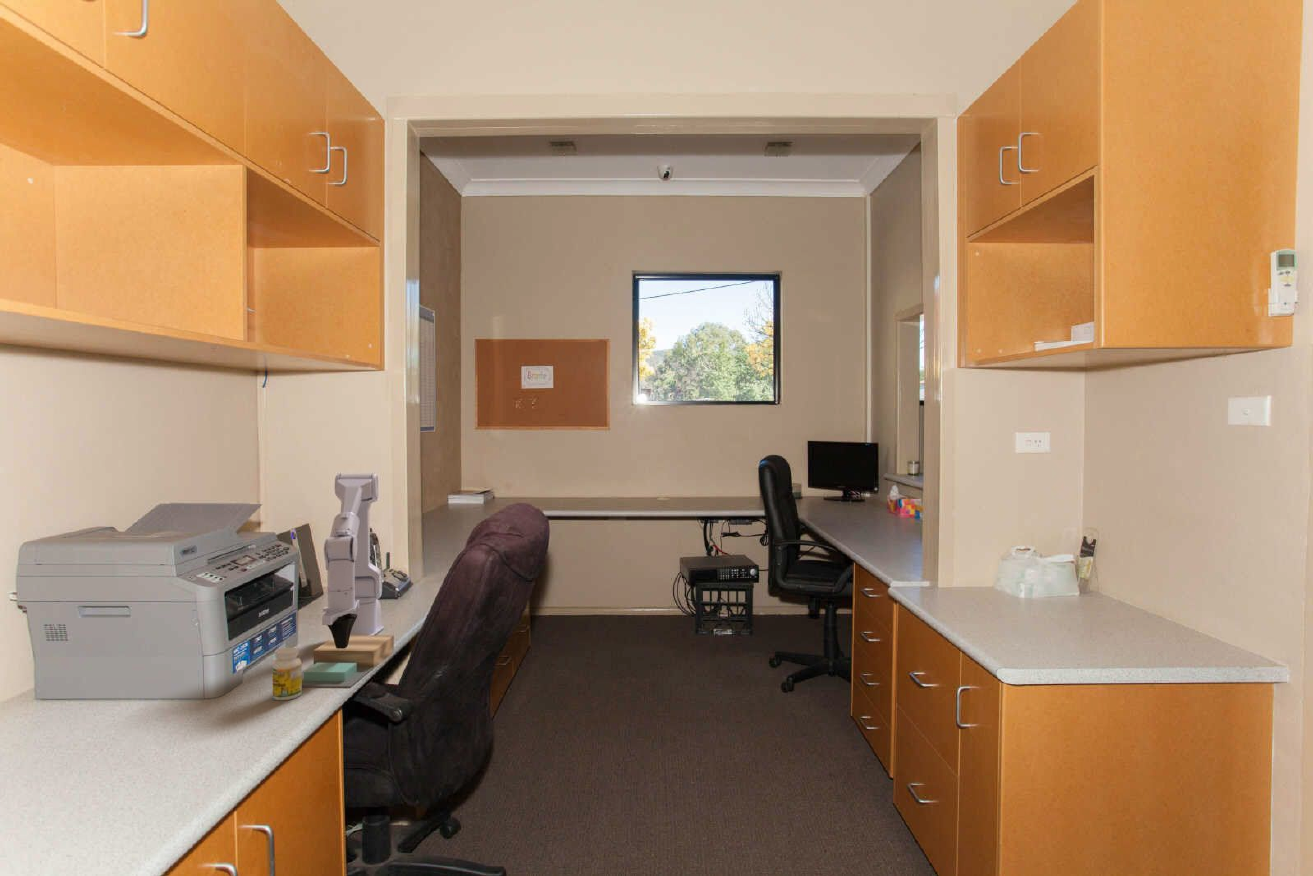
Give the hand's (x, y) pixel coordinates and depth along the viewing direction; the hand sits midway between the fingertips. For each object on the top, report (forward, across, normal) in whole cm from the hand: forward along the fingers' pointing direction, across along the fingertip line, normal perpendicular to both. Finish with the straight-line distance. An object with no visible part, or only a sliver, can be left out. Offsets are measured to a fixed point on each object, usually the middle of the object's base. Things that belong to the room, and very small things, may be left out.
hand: (341, 647), depth 167 cm
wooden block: (+5, -7, 0) cm, 9 cm away
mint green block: (+3, +5, 0) cm, 6 cm away
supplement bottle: (+5, +16, -4) cm, 18 cm away
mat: (+5, +5, 0) cm, 7 cm away
